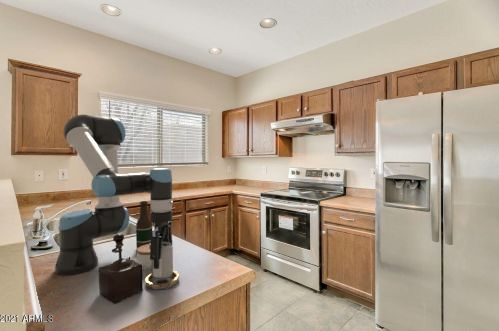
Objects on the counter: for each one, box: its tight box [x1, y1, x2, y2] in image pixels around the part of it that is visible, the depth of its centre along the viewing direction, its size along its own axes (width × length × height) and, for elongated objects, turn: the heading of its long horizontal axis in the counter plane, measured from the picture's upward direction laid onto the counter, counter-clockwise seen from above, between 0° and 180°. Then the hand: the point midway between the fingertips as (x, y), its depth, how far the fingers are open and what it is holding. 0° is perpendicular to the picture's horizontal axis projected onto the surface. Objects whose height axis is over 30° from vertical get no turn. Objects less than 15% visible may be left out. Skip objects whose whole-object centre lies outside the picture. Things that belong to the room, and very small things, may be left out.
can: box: [151, 242, 174, 279], centre depth 97 cm, size 8×8×12 cm
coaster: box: [145, 270, 180, 291], centre depth 97 cm, size 12×12×2 cm
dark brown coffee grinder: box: [97, 233, 144, 305], centre depth 91 cm, size 16×11×18 cm
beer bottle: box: [135, 200, 153, 250], centre depth 131 cm, size 8×8×24 cm
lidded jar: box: [136, 244, 152, 269], centre depth 112 cm, size 11×11×9 cm
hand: (162, 271), depth 97 cm, fingers closed on can, 7 cm apart
